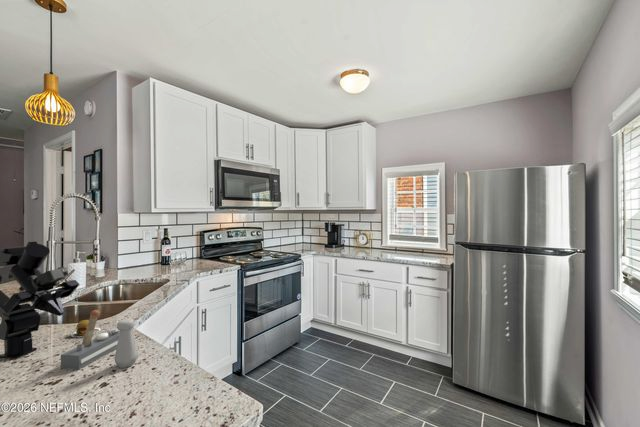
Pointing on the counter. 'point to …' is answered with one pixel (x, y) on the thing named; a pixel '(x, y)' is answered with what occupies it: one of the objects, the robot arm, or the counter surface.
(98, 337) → the white button
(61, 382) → the counter surface
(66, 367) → the console
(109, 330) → the block
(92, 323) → the ash lever
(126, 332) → the salt shaker
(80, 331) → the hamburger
